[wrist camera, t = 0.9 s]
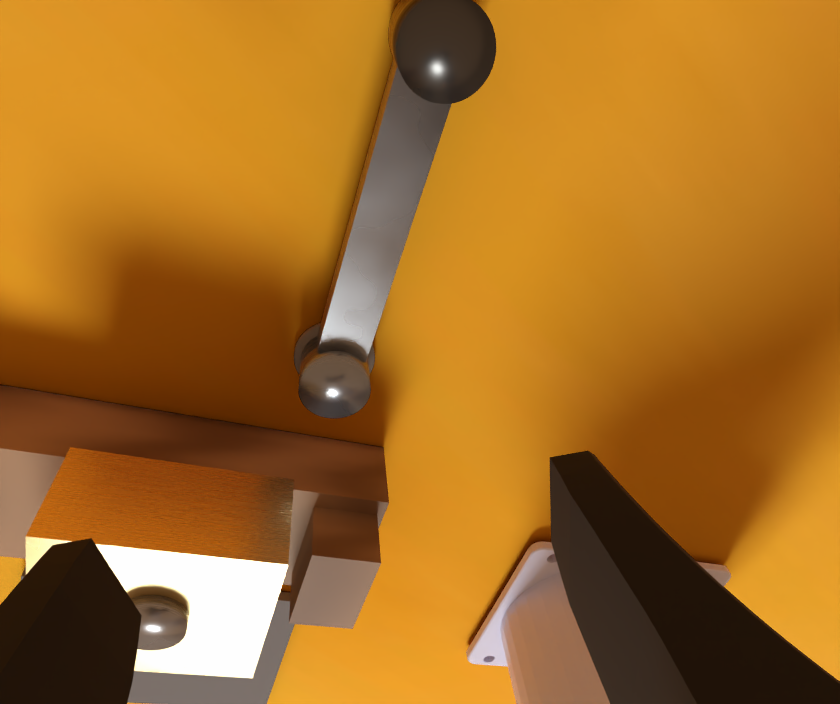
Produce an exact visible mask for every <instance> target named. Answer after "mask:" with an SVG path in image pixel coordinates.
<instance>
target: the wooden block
mask: <svg viewBox="0 0 840 704" xmlns="http://www.w3.org/2000/svg"><path fill="white" fill-rule="evenodd" d="M293 490H294V479H287V478H280V477H274V476H267V475H260V474H253V473H246V472H239V471H232V470H225V469H218V468H211V467H204V466H197V465H191V464H184V463H177V462H170V461H163V460H156V459H149V458H142V457H135V456H128V455H121V454H114V453H107V452H101V451H94V450H87V449H80V448H73V447H70V449H69V451H68V453H67V455H66V457H65V459H64V461H63V463H62V465H61V467H60V469H59V471H58V473H57V475H56V477H55V479H54V481H53V483H52V485H51V487H50V489H49V491H48V493H47V495H46V497H45V499H44V501H43V503H42V505H41V507H40V509H39V511H38V513H37V515H36V517H35V519H34V521H33V523H32V525H31V527H30V529H29V531H28V533H27V535H26V574H27V573H28V572H29V571H30V570H31V568H32V567H33V566H34V565H35V564H36V563H37V561H38V560H39V559H40V558H41V557H42V556H43V555H44V554H45V553H46V551H47V550H48V549H49V548H50V547H51V546H52V545H55V544H61V543H67V542H72V541H78V540H84V539H89V538H92V540H93V541H94V543H95V544H96V546H97V547H98V549H99V551H100V552H101V554H102V555H103V557H104V558H105V560H106V561H107V563H108V564H109V566H110V568H111V569H112V571H113V572H114V574H115V575H116V577H117V578H118V580H119V581H120V583H121V585H122V586H123V588H124V589H125V591H126V592H127V594H128V595H129V597H130V598H131V600H132V602H133V603H134V605H135V606H136V608H137V609H138V611H139V612H140V614H141V615H142V616H141V625H140V633H139V641H138V649H137V656H136V662H135V669H134V671H143V672H160V673H176V674H192V675H208V676H225V677H241V678H253V675H254V671H255V668H256V665H257V662H258V659H259V656H260V653H261V649H262V646H263V643H264V640H265V637H266V634H267V630H268V627H269V624H270V621H271V618H272V615H273V612H274V608H275V605H276V602H277V599H278V596H279V593H280V590H281V586H282V583H283V580H284V577H285V574H286V571H287V568H288V562H289V548H290V533H291V519H292V505H293Z"/></svg>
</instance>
